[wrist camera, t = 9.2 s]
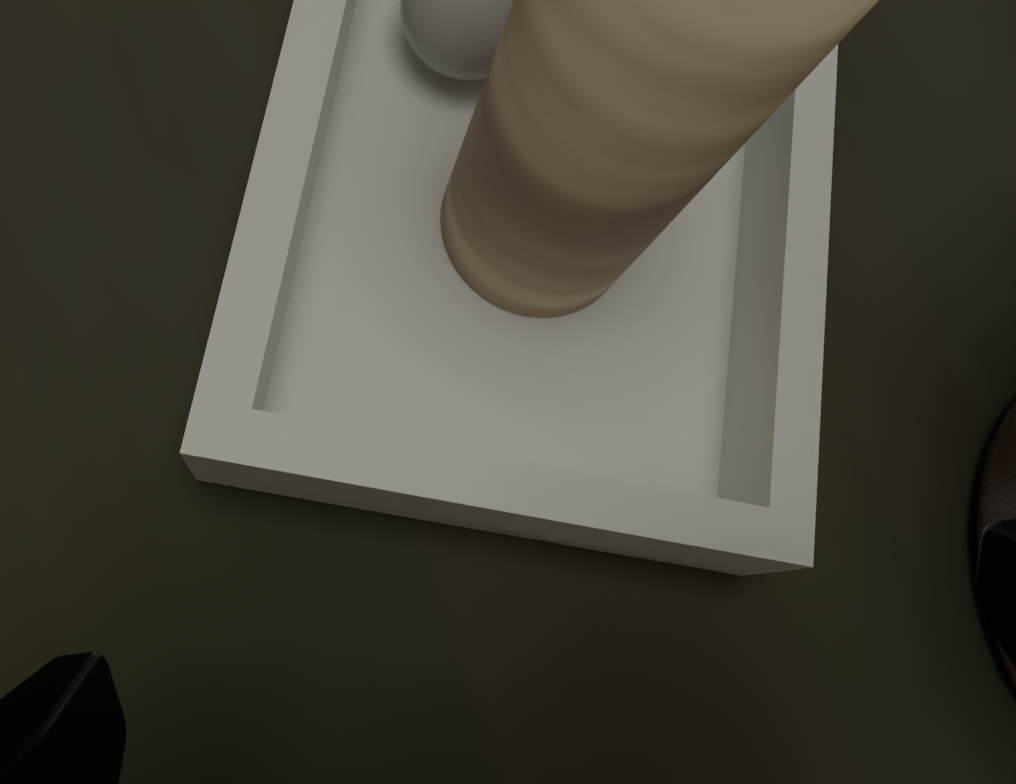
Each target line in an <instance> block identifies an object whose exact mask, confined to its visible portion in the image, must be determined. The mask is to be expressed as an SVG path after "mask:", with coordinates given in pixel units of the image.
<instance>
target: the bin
mask: <svg viewBox="0 0 1016 784" xmlns="http://www.w3.org/2000/svg"><path fill="white" fill-rule="evenodd" d="M837 55H838V44H837V46H836V47H835V48H834V49H833V50H832V51H831V52H830V53H829V54H828V55H827V56H826V57H825V58H824V59H823V60H822V62H821V63H820V64H819V65H818V66H817V67H816V68H815V69H814V70H813V71H812V72H811V73H810V74H809V75H808V76H807V78H806V79H805V80H804V81H803V82H802V83H801V84H800V85H799V86H798V87H797V88H796V89H795V90H794V91H793V93H792V94H791V95H790V96H789V97H788V98H787V99H786V100H785V101H784V102H783V103H782V104H781V105H780V106H779V107H778V109H777V110H776V111H775V112H774V113H773V114H772V115H771V116H770V117H769V118H768V119H767V120H766V121H765V122H764V123H763V125H762V126H761V127H760V128H759V129H758V130H757V131H756V132H755V133H754V134H753V135H752V136H751V137H750V138H749V139H748V141H747V142H746V143H745V144H744V145H743V146H742V147H741V148H740V149H739V150H738V151H737V152H736V153H735V154H734V155H733V157H732V158H731V159H730V160H729V161H728V162H727V163H726V164H725V165H724V166H723V167H722V168H721V169H720V170H719V172H718V173H717V174H716V175H715V176H714V177H713V178H712V179H711V180H710V181H709V182H708V183H707V184H706V185H705V186H704V188H703V189H702V190H701V191H700V192H699V193H698V194H697V195H696V196H695V197H694V198H693V199H692V200H691V201H690V202H689V204H688V205H687V206H686V207H685V208H684V209H683V210H682V211H681V212H680V213H679V214H678V215H677V216H676V217H675V218H674V220H673V221H672V222H671V223H670V224H669V225H668V226H667V227H666V228H665V229H664V230H663V231H662V232H661V233H660V234H659V236H658V237H657V238H656V239H655V240H654V241H653V242H652V243H651V244H650V245H649V246H648V247H647V248H646V249H645V251H644V252H643V253H642V254H641V255H640V256H639V257H638V258H637V259H636V260H635V261H634V262H633V263H632V264H631V265H630V267H629V268H628V269H627V270H626V271H625V272H624V273H623V274H622V275H621V276H620V277H619V278H618V279H617V280H616V281H615V283H614V284H613V285H612V286H611V287H610V288H609V289H608V290H607V291H606V292H605V293H604V294H603V295H602V296H601V297H600V298H599V299H598V300H596V301H595V302H593V303H592V304H591V305H589V306H588V307H586V308H584V309H582V310H580V311H578V312H575V313H572V314H569V315H565V316H560V317H555V318H533V317H526V316H521V315H517V314H514V313H511V312H508V311H505V310H503V309H501V308H499V307H497V306H494V305H493V304H491V303H490V302H488V301H486V300H485V299H483V298H482V297H481V296H479V295H478V294H477V293H476V292H475V291H473V290H472V289H471V288H470V287H469V286H468V285H467V284H466V283H465V282H464V280H463V279H462V278H461V276H460V275H459V274H458V272H457V271H456V270H455V268H454V266H453V264H452V263H451V261H450V259H449V257H448V254H447V252H446V249H445V247H444V243H443V239H442V235H441V227H440V211H441V205H442V200H443V196H444V193H445V190H446V187H447V184H448V182H449V179H450V176H451V173H452V171H453V168H454V165H455V162H456V159H457V157H458V154H459V151H460V148H461V145H462V143H463V140H464V137H465V134H466V131H467V129H468V126H469V123H470V120H471V117H472V115H473V112H474V109H475V106H476V104H477V101H478V98H479V95H480V92H481V90H482V87H483V84H484V81H485V79H483V80H477V81H461V80H455V79H451V78H448V77H445V76H443V75H441V74H439V73H437V72H435V71H434V70H432V69H431V68H429V67H428V66H427V65H425V64H424V63H423V62H422V61H421V60H420V59H419V57H418V56H417V55H416V54H415V52H414V51H413V49H412V48H411V46H410V45H409V43H408V40H407V38H406V36H405V33H404V30H403V27H402V23H401V17H400V0H294V2H293V6H292V10H291V13H290V17H289V21H288V25H287V29H286V33H285V37H284V41H283V45H282V49H281V53H280V57H279V61H278V65H277V69H276V73H275V77H274V81H273V85H272V89H271V93H270V97H269V101H268V105H267V109H266V113H265V117H264V121H263V124H262V128H261V132H260V136H259V140H258V144H257V148H256V152H255V156H254V160H253V164H252V168H251V172H250V176H249V180H248V184H247V188H246V192H245V196H244V200H243V204H242V208H241V212H240V216H239V220H238V224H237V228H236V231H235V235H234V239H233V243H232V247H231V251H230V255H229V259H228V263H227V267H226V271H225V275H224V279H223V283H222V287H221V291H220V295H219V299H218V303H217V307H216V311H215V315H214V319H213V323H212V327H211V331H210V335H209V339H208V342H207V346H206V350H205V354H204V358H203V362H202V366H201V370H200V374H199V378H198V382H197V386H196V390H195V394H194V398H193V402H192V406H191V410H190V414H189V418H188V422H187V426H186V430H185V434H184V438H183V442H182V446H181V450H180V454H181V456H182V458H183V459H184V461H185V462H186V464H187V465H188V467H189V469H190V470H191V472H192V473H193V475H194V476H195V478H196V479H197V480H198V481H204V482H210V483H215V484H221V485H227V486H232V487H238V488H244V489H249V490H255V491H261V492H267V493H272V494H278V495H284V496H289V497H295V498H301V499H306V500H312V501H318V502H323V503H329V504H335V505H341V506H346V507H352V508H358V509H363V510H369V511H375V512H380V513H386V514H392V515H398V516H403V517H409V518H415V519H420V520H426V521H432V522H437V523H443V524H449V525H454V526H460V527H466V528H472V529H477V530H483V531H489V532H494V533H500V534H506V535H511V536H517V537H523V538H528V539H534V540H540V541H546V542H551V543H557V544H563V545H568V546H574V547H580V548H585V549H591V550H597V551H603V552H608V553H614V554H620V555H625V556H631V557H637V558H642V559H648V560H654V561H659V562H665V563H671V564H677V565H682V566H688V567H694V568H699V569H705V570H711V571H716V572H722V573H728V574H734V575H739V576H745V575H753V574H761V573H770V572H778V571H786V570H794V569H802V568H811V567H813V560H814V539H815V518H816V497H817V476H818V455H819V434H820V413H821V392H822V371H823V350H824V329H825V308H826V286H827V265H828V244H829V223H830V202H831V181H832V160H833V139H834V118H835V97H836V76H837Z"/></svg>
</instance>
